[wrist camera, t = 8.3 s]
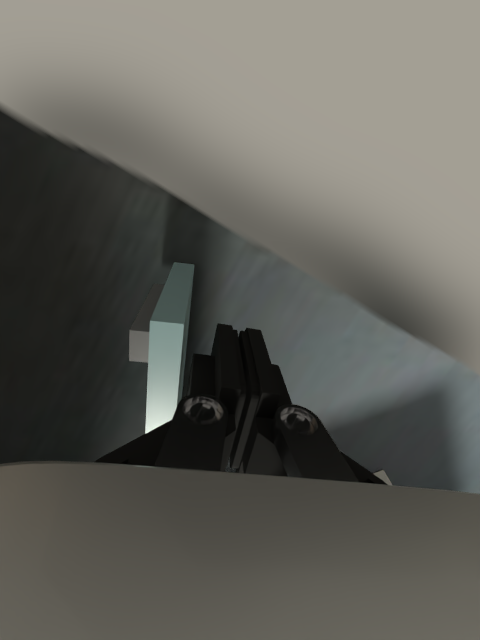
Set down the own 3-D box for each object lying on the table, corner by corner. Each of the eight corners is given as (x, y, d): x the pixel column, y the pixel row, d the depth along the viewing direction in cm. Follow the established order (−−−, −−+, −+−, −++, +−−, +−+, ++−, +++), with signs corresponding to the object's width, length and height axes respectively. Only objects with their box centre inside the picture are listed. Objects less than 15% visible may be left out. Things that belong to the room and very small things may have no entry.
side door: (167, 550, 25) (152, 676, 19) (143, 550, 25) (121, 678, 19) (194, 264, 16) (184, 323, 9) (157, 260, 16) (121, 317, 9)
